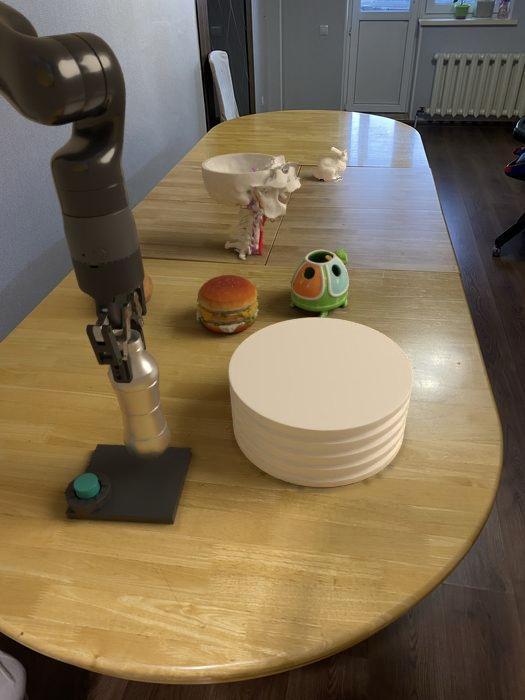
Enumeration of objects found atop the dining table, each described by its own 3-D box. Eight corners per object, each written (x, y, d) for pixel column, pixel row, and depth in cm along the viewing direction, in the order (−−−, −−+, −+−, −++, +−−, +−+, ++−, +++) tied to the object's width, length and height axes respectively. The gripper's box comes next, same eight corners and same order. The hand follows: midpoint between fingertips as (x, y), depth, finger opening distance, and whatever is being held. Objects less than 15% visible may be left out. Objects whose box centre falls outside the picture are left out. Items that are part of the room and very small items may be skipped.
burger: (262, 336, 107) (260, 294, 101) (196, 341, 106) (191, 299, 100) (257, 303, 118) (256, 263, 112) (198, 307, 117) (193, 267, 111)
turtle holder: (366, 291, 121) (371, 243, 114) (327, 326, 109) (329, 276, 102) (320, 277, 127) (322, 232, 120) (278, 310, 115) (278, 261, 108)
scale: (63, 519, 72) (57, 505, 70) (96, 449, 82) (91, 436, 80) (173, 525, 70) (170, 511, 69) (192, 453, 81) (189, 440, 79)
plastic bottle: (137, 430, 79) (111, 320, 68) (179, 436, 78) (160, 325, 66) (119, 462, 74) (88, 349, 62) (164, 468, 73) (140, 354, 61)
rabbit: (344, 175, 191) (347, 141, 184) (349, 183, 184) (351, 148, 177) (312, 176, 191) (313, 143, 184) (315, 185, 184) (316, 150, 177)
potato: (154, 286, 126) (149, 256, 121) (157, 316, 115) (151, 284, 110) (113, 291, 124) (106, 261, 120) (112, 322, 113) (104, 290, 109)
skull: (207, 264, 135) (198, 176, 121) (211, 235, 150) (203, 154, 137) (303, 260, 135) (304, 171, 121) (297, 232, 150) (298, 150, 137)
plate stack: (407, 498, 73) (419, 440, 66) (214, 475, 77) (207, 419, 70) (400, 375, 95) (408, 322, 88) (250, 363, 99) (248, 312, 93)
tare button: (72, 498, 71) (69, 490, 70) (81, 480, 74) (78, 472, 73) (95, 500, 71) (92, 491, 70) (103, 481, 73) (100, 473, 72)
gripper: (94, 220, 63) (120, 334, 73) (44, 275, 52) (83, 402, 61) (153, 220, 63) (172, 335, 72) (117, 276, 51) (144, 404, 61)
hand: (131, 365), depth 67 cm, fingers closed on plastic bottle, 5 cm apart
